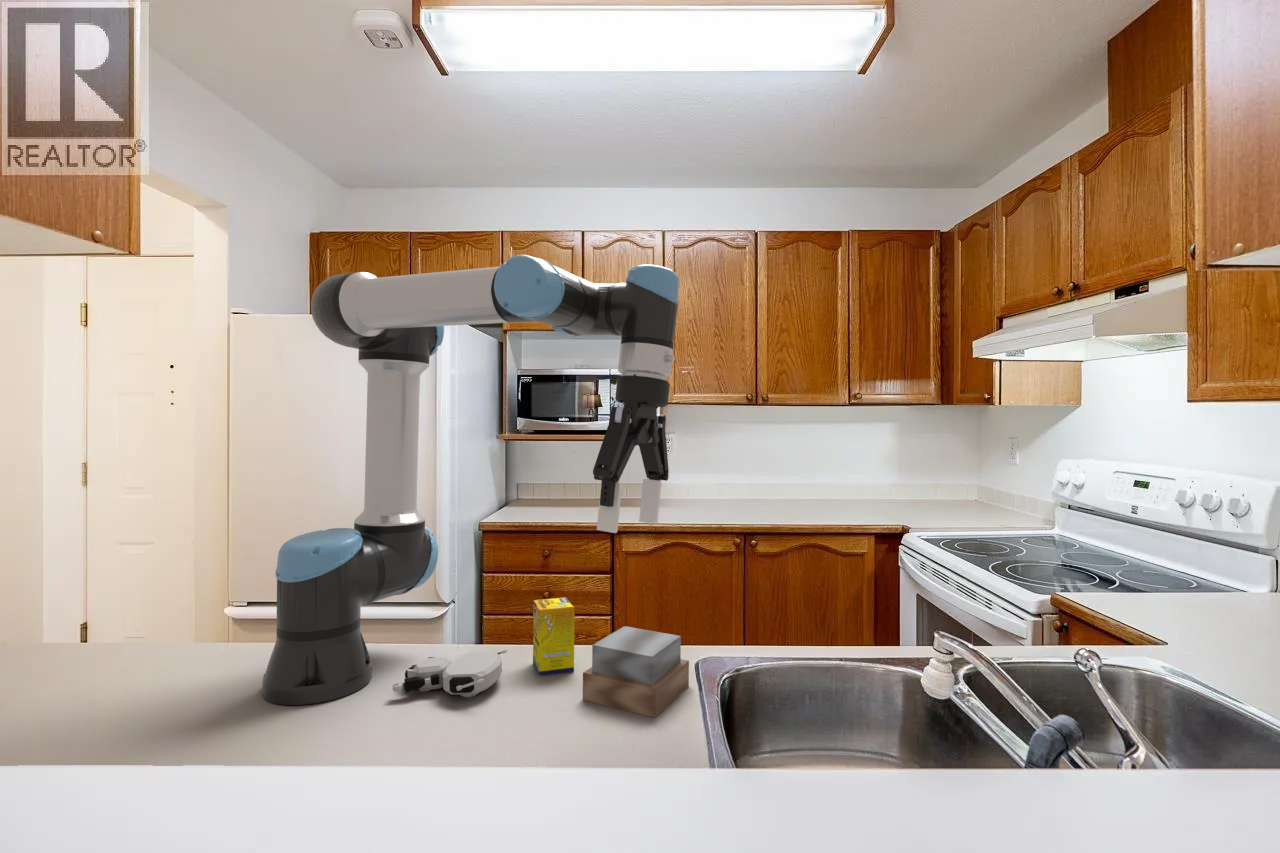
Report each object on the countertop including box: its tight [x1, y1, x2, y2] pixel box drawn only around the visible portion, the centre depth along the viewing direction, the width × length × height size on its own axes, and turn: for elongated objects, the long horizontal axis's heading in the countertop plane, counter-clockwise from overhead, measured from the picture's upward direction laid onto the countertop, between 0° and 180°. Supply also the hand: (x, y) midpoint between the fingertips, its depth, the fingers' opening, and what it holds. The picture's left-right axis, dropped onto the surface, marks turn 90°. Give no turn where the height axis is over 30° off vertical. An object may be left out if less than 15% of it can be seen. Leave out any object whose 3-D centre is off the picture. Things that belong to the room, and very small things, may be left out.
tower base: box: [582, 625, 690, 718], centre depth 95 cm, size 12×12×8 cm
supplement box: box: [532, 596, 576, 677], centre depth 104 cm, size 6×6×11 cm
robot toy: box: [392, 649, 508, 698], centre depth 96 cm, size 12×4×15 cm
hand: (629, 527), depth 87 cm, fingers open, 13 cm apart
